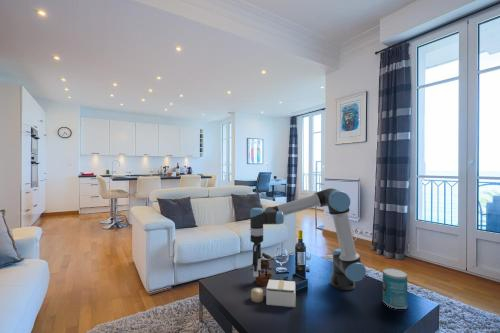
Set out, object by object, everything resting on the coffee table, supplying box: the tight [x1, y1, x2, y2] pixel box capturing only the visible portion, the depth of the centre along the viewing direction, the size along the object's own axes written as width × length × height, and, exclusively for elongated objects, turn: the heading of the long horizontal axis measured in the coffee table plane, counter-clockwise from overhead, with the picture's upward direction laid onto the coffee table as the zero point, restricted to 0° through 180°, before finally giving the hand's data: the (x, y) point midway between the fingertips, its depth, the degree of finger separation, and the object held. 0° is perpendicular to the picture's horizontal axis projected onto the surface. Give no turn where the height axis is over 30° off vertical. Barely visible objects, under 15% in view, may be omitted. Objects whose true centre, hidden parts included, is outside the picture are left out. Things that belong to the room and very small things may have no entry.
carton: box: [265, 288, 296, 308], centre depth 148 cm, size 16×12×8 cm
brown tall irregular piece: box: [250, 252, 274, 287], centre depth 171 cm, size 15×11×20 cm
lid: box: [266, 279, 296, 292], centre depth 148 cm, size 16×12×1 cm
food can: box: [382, 267, 408, 310], centre depth 143 cm, size 12×12×18 cm
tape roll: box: [250, 287, 264, 303], centre depth 150 cm, size 7×7×5 cm
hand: (257, 272), depth 150 cm, fingers open, 9 cm apart
